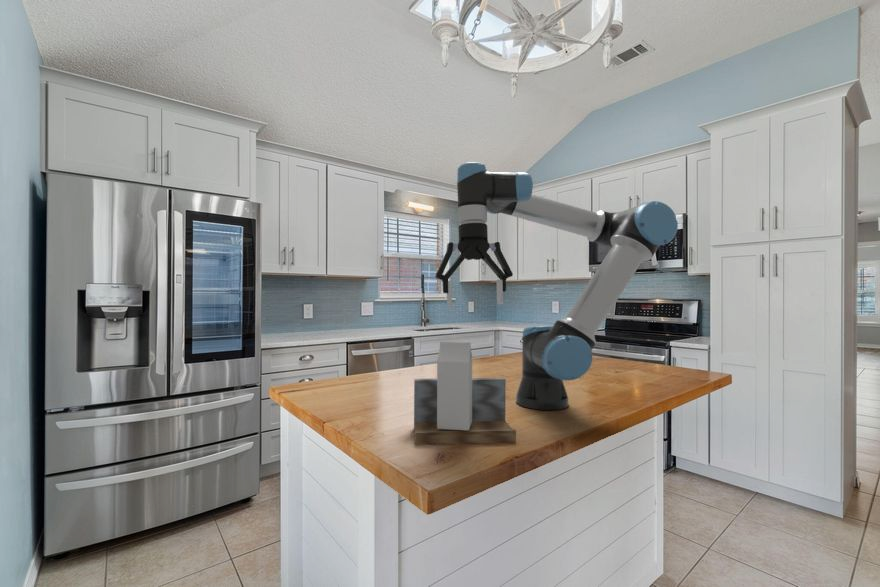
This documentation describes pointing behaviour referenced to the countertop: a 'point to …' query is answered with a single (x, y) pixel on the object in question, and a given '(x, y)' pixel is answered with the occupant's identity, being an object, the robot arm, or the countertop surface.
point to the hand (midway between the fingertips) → (475, 305)
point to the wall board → (484, 414)
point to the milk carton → (454, 386)
